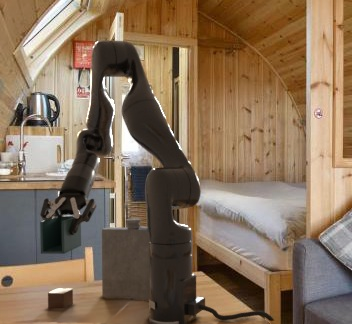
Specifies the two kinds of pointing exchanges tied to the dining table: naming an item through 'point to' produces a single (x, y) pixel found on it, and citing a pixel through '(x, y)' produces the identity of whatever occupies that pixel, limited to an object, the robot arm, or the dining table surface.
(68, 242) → the teal open box
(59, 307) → the walnut block
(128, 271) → the hip flask
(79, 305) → the dining table surface
